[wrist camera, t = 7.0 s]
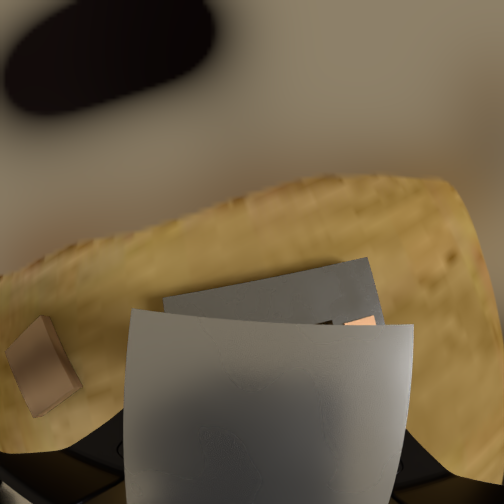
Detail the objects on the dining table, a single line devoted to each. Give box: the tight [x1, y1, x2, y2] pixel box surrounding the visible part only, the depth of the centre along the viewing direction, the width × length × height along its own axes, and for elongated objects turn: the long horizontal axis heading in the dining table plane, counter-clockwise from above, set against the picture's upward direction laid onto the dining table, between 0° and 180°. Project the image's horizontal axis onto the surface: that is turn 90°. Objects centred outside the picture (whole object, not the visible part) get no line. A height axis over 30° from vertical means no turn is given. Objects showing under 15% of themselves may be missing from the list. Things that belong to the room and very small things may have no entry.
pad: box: [5, 315, 83, 418], centre depth 21 cm, size 8×8×2 cm
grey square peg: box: [123, 308, 414, 504], centre depth 9 cm, size 4×4×12 cm
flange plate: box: [163, 257, 385, 325], centre depth 20 cm, size 14×16×3 cm
